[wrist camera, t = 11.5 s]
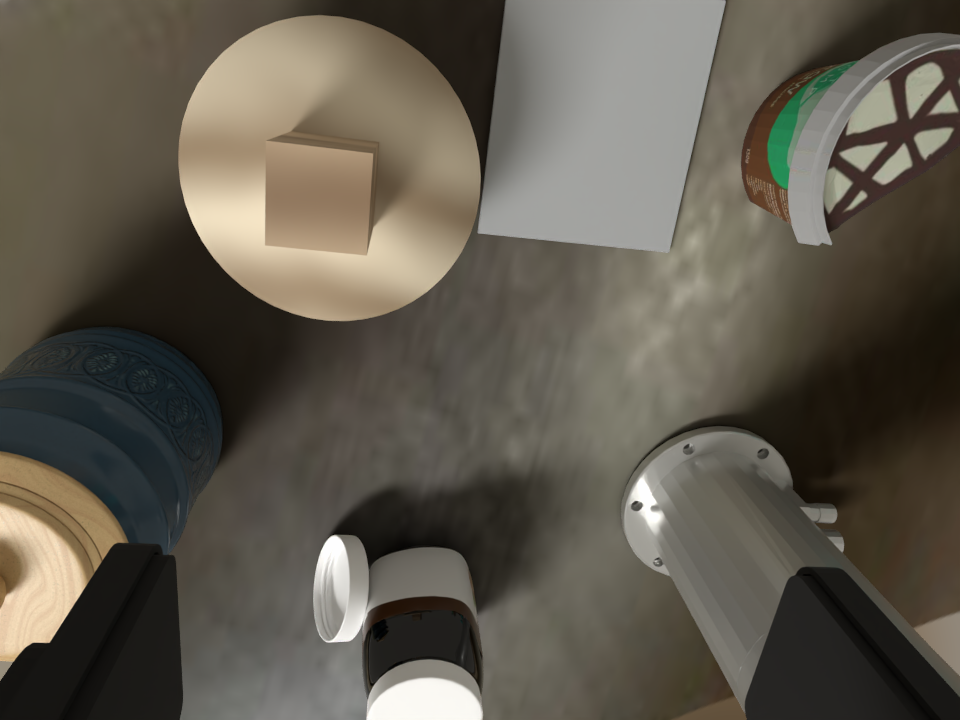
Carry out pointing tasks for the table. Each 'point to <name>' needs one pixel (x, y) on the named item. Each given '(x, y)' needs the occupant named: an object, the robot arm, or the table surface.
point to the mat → (596, 118)
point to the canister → (93, 465)
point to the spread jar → (405, 627)
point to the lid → (329, 168)
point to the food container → (853, 133)
